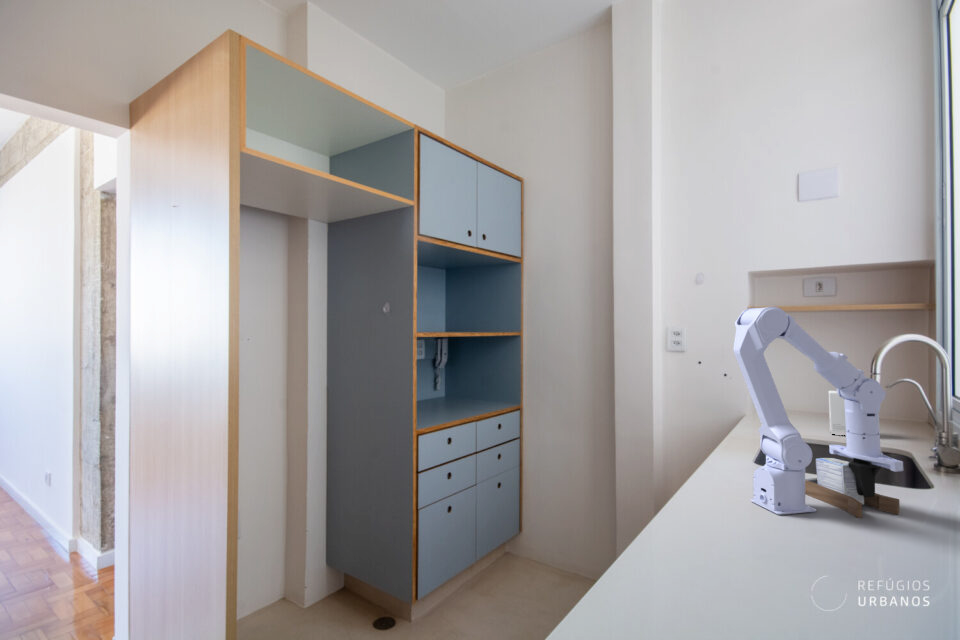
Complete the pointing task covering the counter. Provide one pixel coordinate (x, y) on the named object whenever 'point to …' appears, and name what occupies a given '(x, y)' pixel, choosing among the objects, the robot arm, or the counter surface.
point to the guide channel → (850, 499)
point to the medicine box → (837, 477)
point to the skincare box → (836, 412)
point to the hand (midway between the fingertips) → (865, 495)
